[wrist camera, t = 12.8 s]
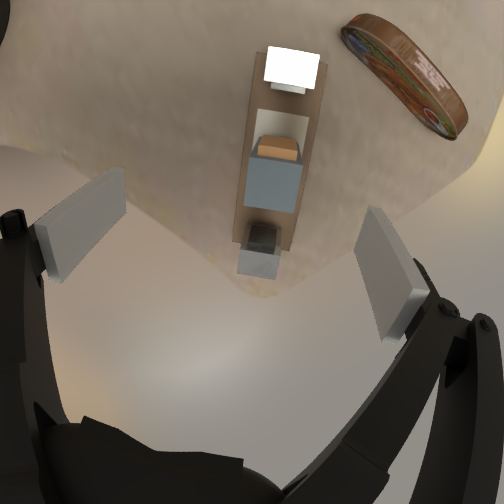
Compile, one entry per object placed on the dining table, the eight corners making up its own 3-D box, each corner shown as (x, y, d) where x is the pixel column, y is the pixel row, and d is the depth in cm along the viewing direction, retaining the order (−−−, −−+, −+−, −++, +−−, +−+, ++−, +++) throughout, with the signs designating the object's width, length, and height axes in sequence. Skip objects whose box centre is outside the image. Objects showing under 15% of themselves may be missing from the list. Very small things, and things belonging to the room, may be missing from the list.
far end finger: (244, 243, 36) (237, 273, 31) (248, 217, 34) (240, 244, 29) (277, 249, 36) (275, 279, 31) (282, 223, 34) (281, 250, 29)
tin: (332, 37, 23) (348, 21, 16) (350, 19, 21) (372, -1, 14) (428, 134, 27) (466, 152, 20) (444, 117, 25) (485, 131, 18)
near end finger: (267, 87, 26) (262, 87, 21) (272, 54, 24) (268, 46, 19) (307, 94, 26) (312, 95, 20) (312, 61, 24) (319, 55, 19)
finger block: (254, 172, 31) (243, 205, 23) (260, 129, 28) (250, 146, 20) (291, 178, 30) (293, 213, 23) (299, 135, 28) (305, 155, 20)
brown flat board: (233, 236, 37) (231, 242, 36) (258, 53, 25) (256, 52, 24) (289, 246, 37) (289, 251, 35) (326, 65, 25) (327, 64, 23)
